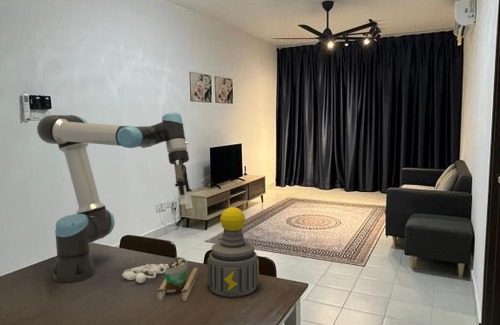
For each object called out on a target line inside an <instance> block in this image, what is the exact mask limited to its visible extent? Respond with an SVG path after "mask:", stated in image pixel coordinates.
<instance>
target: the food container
mask: <svg viewBox="0 0 500 325" xmlns="http://www.w3.org/2000/svg"><path fill="white" fill-rule="evenodd" d="M168 266H169V268H165V273H164V274H165V279H166V286H167V292H166V295H174V294H175V295H176V294H179V293H182V292H181V290H182V289H184V287H185V285H186V278H187V269H188V268H189V266H188V261H187V259H185V258H184V257H180V256H175V260H174V261H173V262H171V263H170V265H168Z"/></svg>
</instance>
